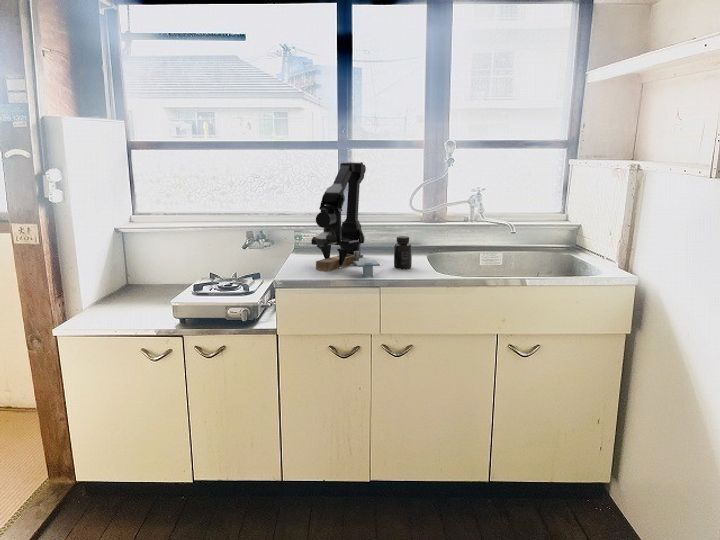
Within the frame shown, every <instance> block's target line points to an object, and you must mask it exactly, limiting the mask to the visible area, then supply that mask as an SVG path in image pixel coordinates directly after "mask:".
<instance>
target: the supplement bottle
mask: <svg viewBox="0 0 720 540" xmlns="http://www.w3.org/2000/svg"><path fill="white" fill-rule="evenodd" d="M412 252H413V247H412V244H410V237H409V236H407V235H406V236H405V235H403V236H402V235H401V236H400V235H399V236H397V237H396V244H394V245H393V267H394V269H396V270H409V269H411V268H412V267H413V266H412V265H413V264H412V262H413V261H412V259H413V257H412V256H413V254H412Z"/></svg>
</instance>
